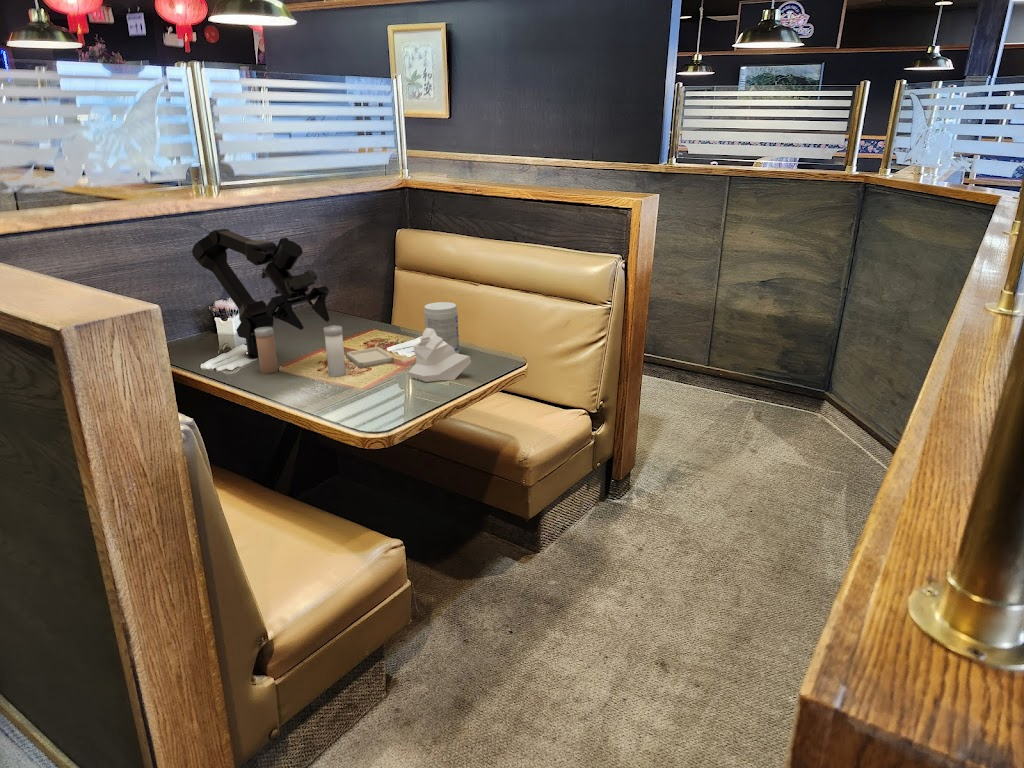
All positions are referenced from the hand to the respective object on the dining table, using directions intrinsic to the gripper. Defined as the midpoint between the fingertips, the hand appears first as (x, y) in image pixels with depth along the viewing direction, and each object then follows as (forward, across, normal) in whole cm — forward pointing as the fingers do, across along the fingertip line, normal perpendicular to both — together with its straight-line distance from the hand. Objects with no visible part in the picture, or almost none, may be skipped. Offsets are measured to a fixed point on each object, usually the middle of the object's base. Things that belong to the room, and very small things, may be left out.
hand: (315, 324), depth 195 cm
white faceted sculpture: (+31, +13, -12) cm, 36 cm away
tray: (+13, +14, +5) cm, 20 cm away
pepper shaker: (+1, -8, +17) cm, 19 cm away
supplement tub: (+24, +29, -5) cm, 38 cm away
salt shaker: (+14, 0, +4) cm, 15 cm away
